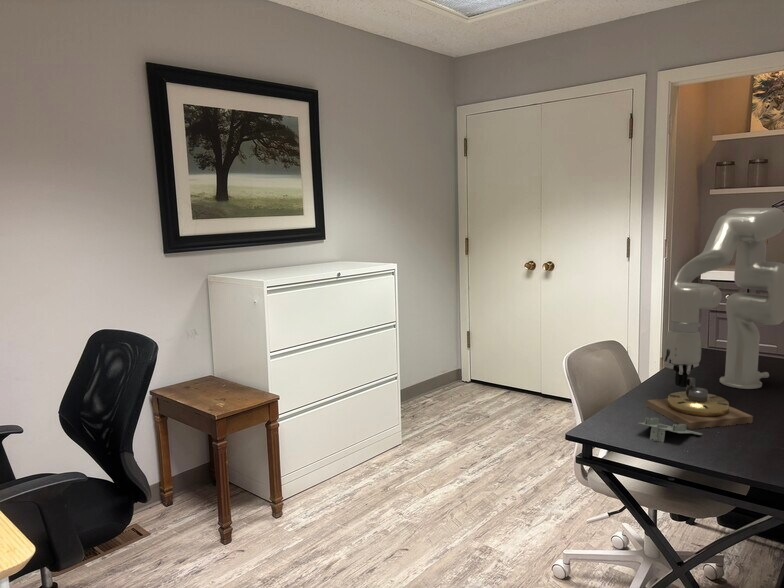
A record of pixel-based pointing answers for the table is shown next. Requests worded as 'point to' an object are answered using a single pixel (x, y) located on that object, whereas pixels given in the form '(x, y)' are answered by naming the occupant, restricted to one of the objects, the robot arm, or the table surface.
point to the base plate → (699, 421)
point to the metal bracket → (664, 429)
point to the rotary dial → (697, 401)
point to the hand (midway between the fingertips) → (681, 385)
